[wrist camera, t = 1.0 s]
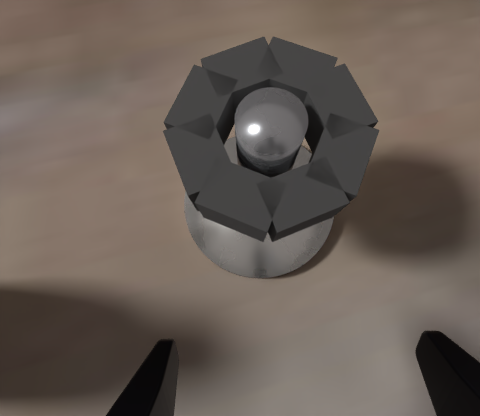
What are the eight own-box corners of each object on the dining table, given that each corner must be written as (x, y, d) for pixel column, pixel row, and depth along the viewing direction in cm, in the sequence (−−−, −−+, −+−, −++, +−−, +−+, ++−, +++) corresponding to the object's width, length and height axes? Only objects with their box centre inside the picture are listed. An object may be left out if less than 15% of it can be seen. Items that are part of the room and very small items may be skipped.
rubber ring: (318, 265, 14) (334, 259, 11) (152, 196, 14) (134, 178, 12) (373, 111, 15) (397, 77, 13) (222, 58, 16) (218, 18, 14)
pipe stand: (301, 303, 22) (368, 319, 10) (162, 243, 23) (73, 194, 11) (350, 167, 25) (450, 51, 13) (221, 120, 26) (200, -28, 14)
